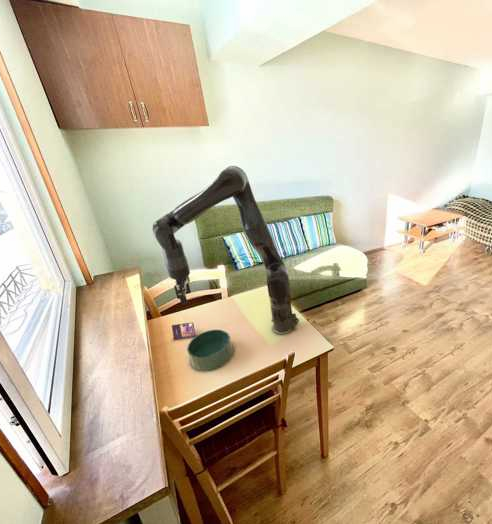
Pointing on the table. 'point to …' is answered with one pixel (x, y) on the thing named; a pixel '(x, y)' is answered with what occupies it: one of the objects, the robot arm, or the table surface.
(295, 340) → the table surface
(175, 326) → the game card
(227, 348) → the bowl
